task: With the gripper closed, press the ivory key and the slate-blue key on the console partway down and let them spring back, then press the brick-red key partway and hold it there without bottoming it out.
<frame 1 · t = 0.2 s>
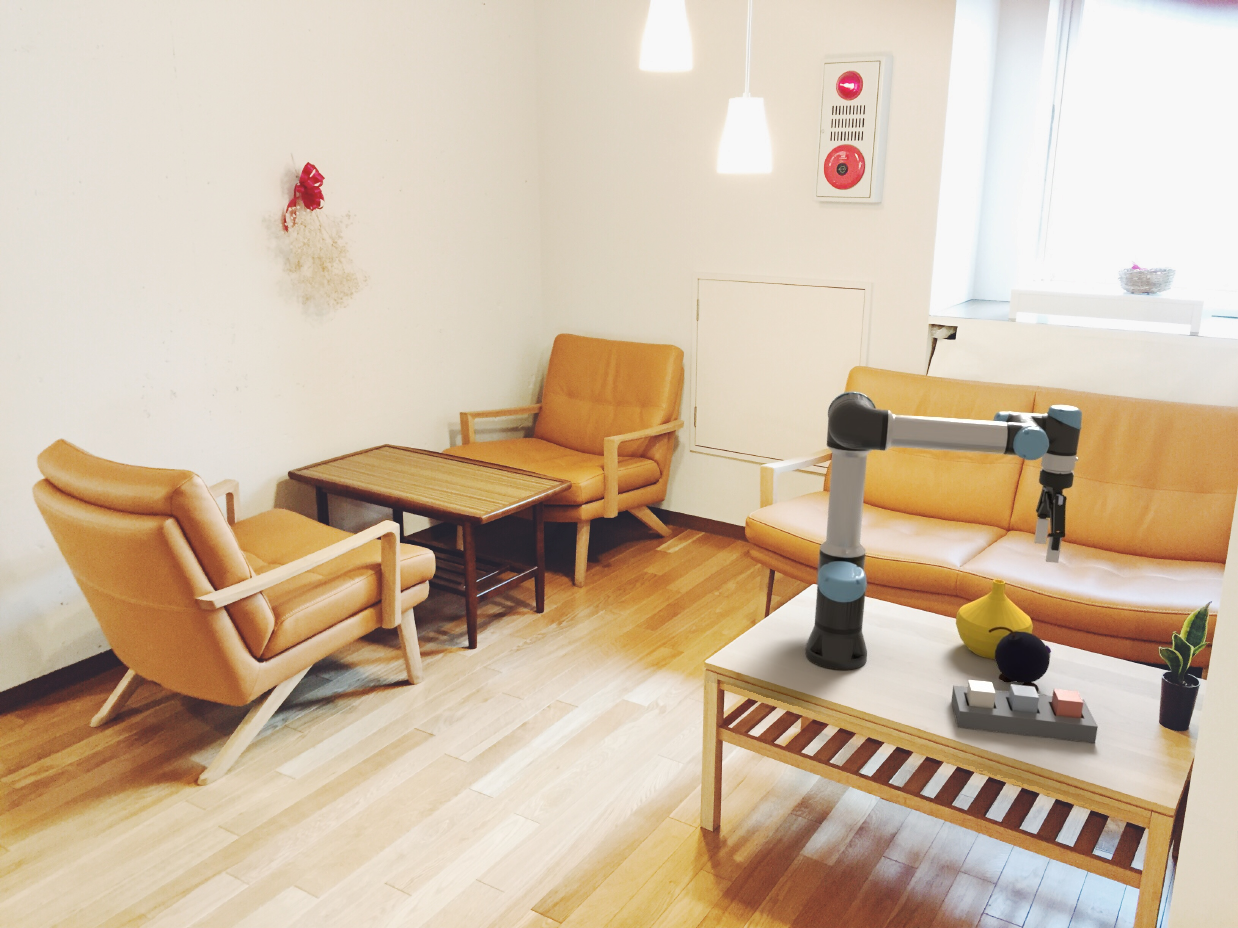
hand: (1045, 552, 242), 28 cm above the table, fingers open, 13 cm apart
vase: (990, 651, 252), on the table
key slate: (1023, 698, 216), point 6 cm above the table, slide at 0.0 cm
key ivory: (980, 694, 218), point 6 cm above the table, slide at 0.0 cm
key brick: (1067, 703, 214), point 6 cm above the table, slide at 0.0 cm
toy: (1015, 685, 234), on the table
console: (1020, 721, 217), on the table
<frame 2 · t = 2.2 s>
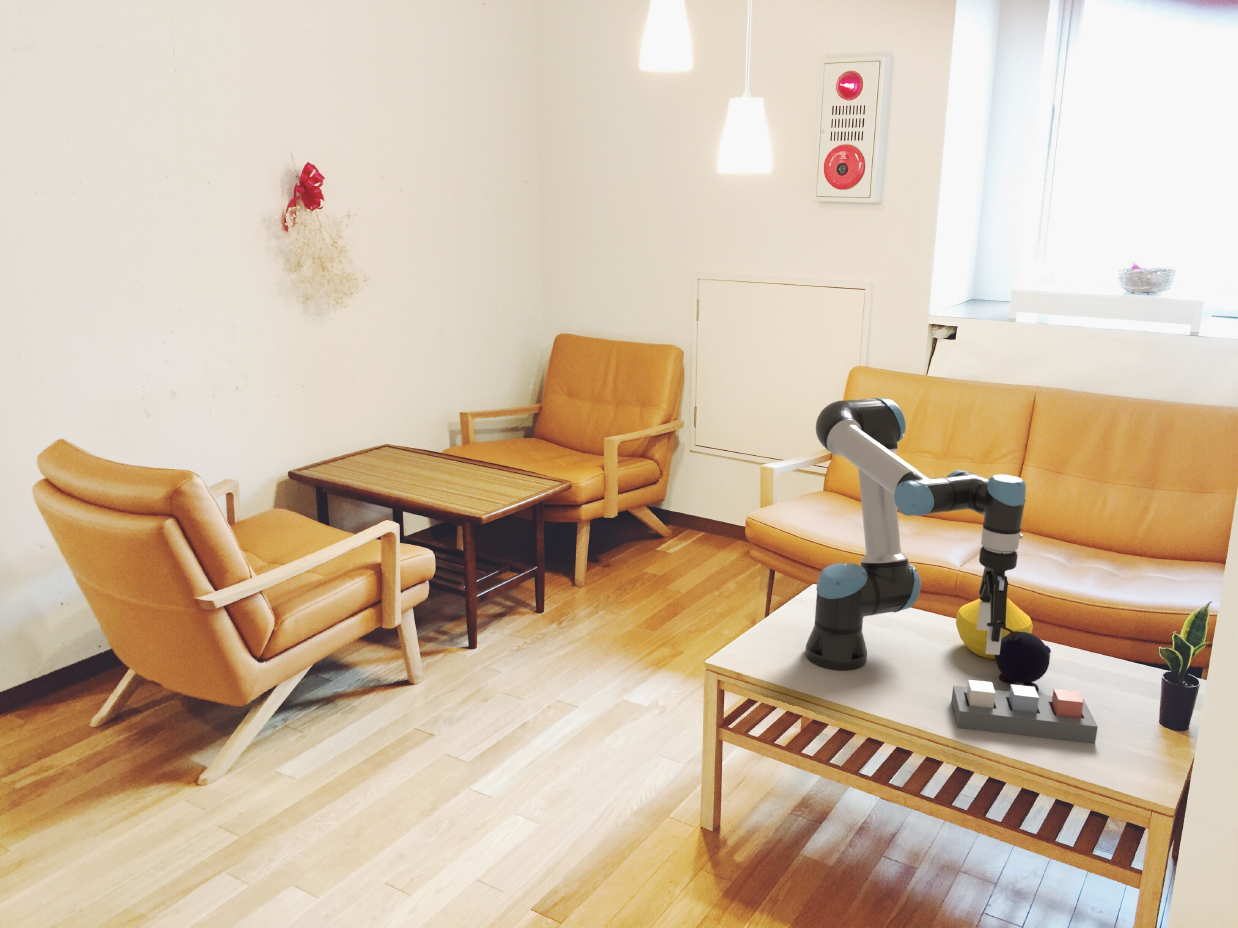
hand: (987, 641, 214), 18 cm above the table, fingers open, 12 cm apart
nothing on the table moved.
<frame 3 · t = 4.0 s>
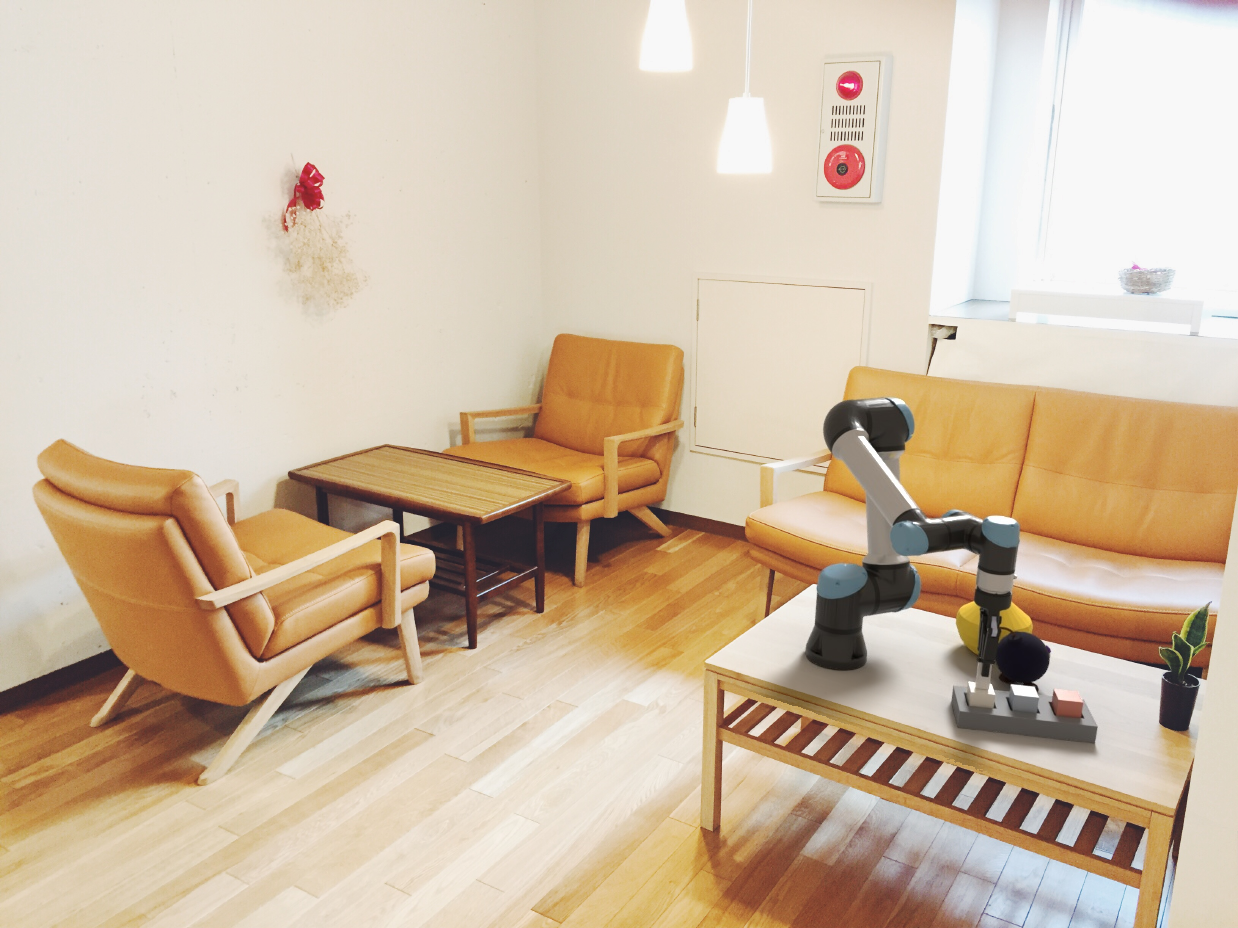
hand: (982, 687, 217), 7 cm above the table, fingers closed
key ivory: (980, 695, 218), point 5 cm above the table, slide at 0.5 cm, touching gripper
everything else where it was.
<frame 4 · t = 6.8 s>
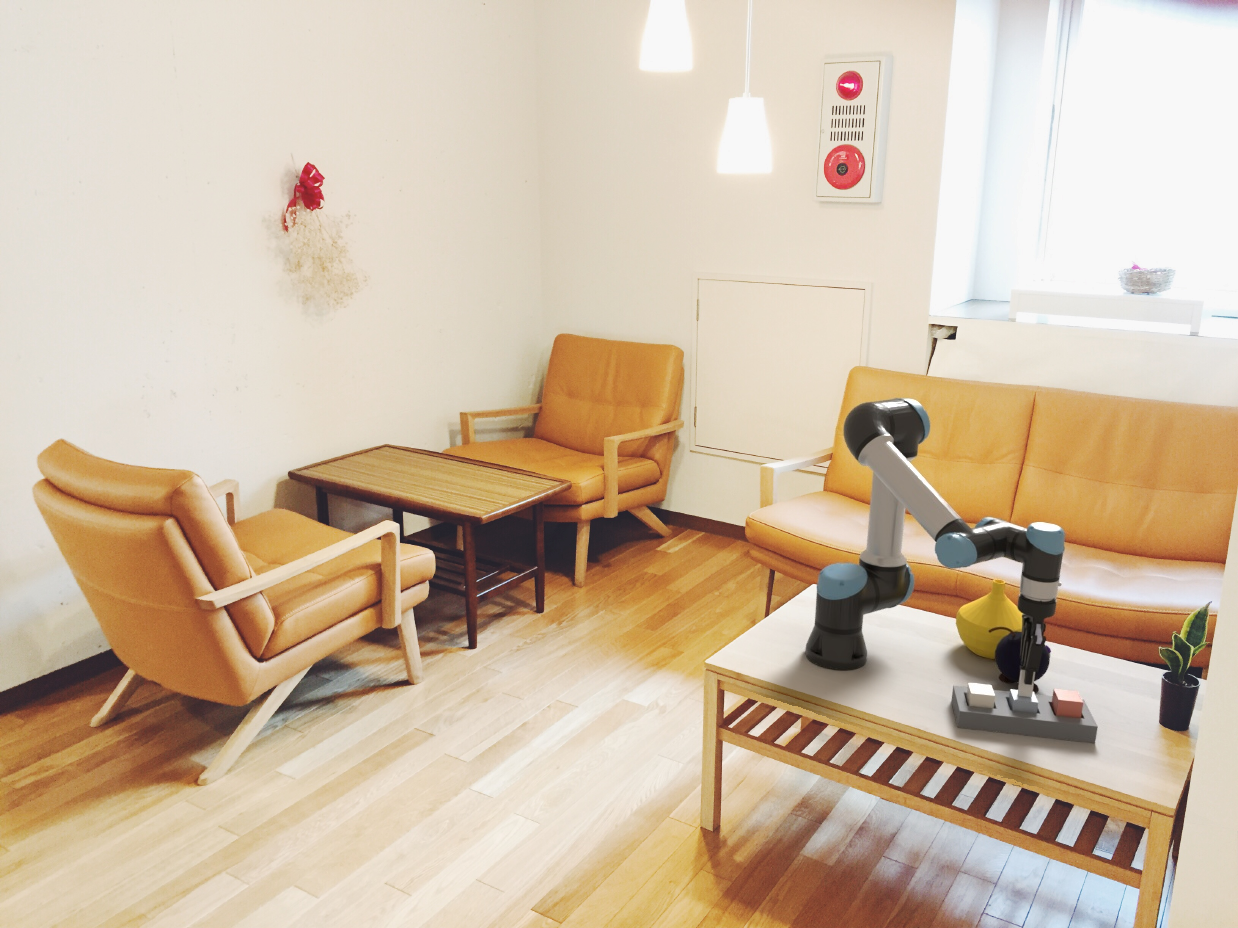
hand: (1024, 694, 215), 7 cm above the table, fingers closed
key slate: (1022, 703, 216), point 4 cm above the table, slide at 1.2 cm, touching gripper
key ivory: (980, 696, 218), point 5 cm above the table, slide at 0.7 cm
everything else where it was.
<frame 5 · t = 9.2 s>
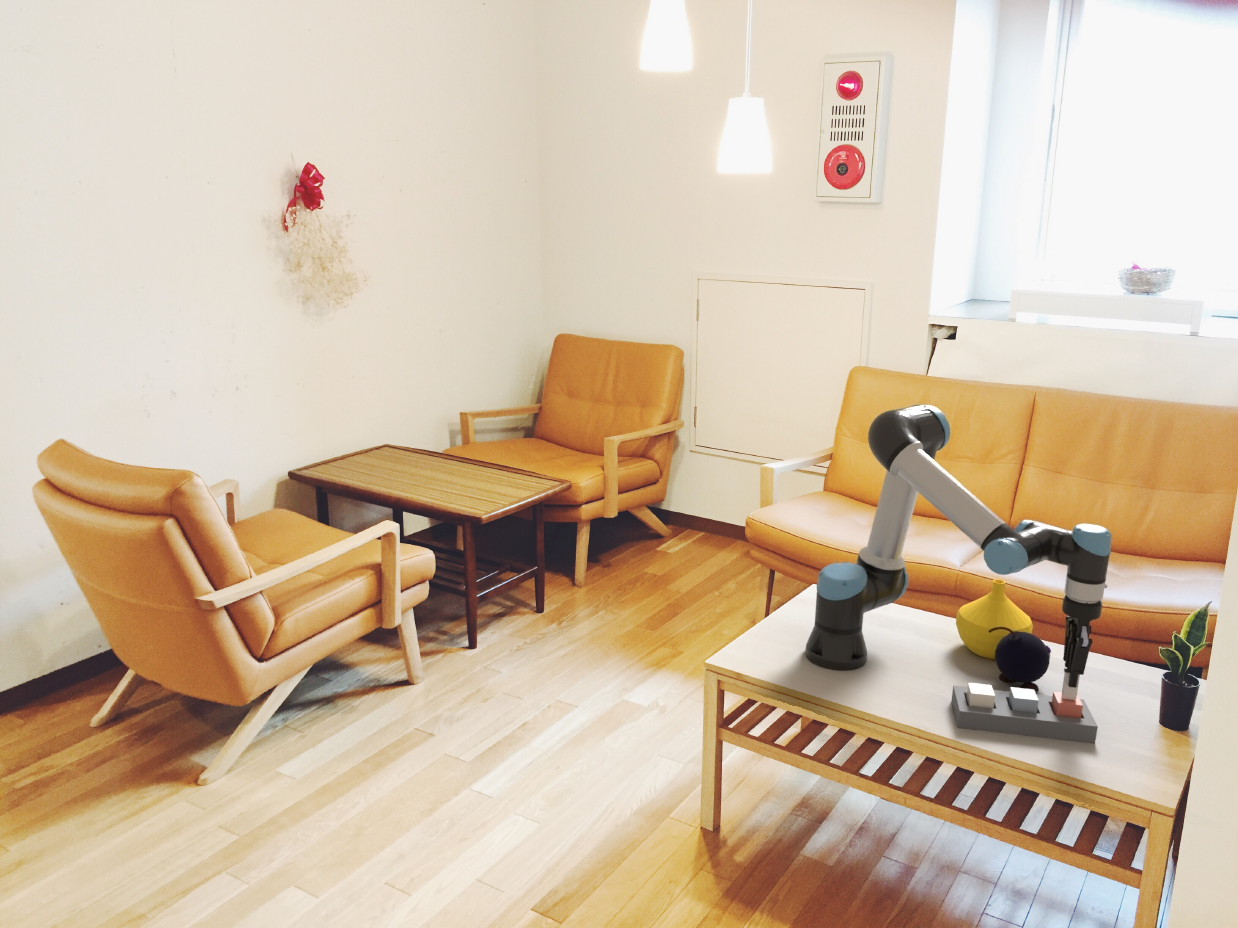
hand: (1068, 697, 214), 7 cm above the table, fingers closed
key slate: (1023, 701, 216), point 5 cm above the table, slide at 0.7 cm
key brick: (1066, 706, 214), point 5 cm above the table, slide at 0.7 cm, touching gripper
everything else where it was.
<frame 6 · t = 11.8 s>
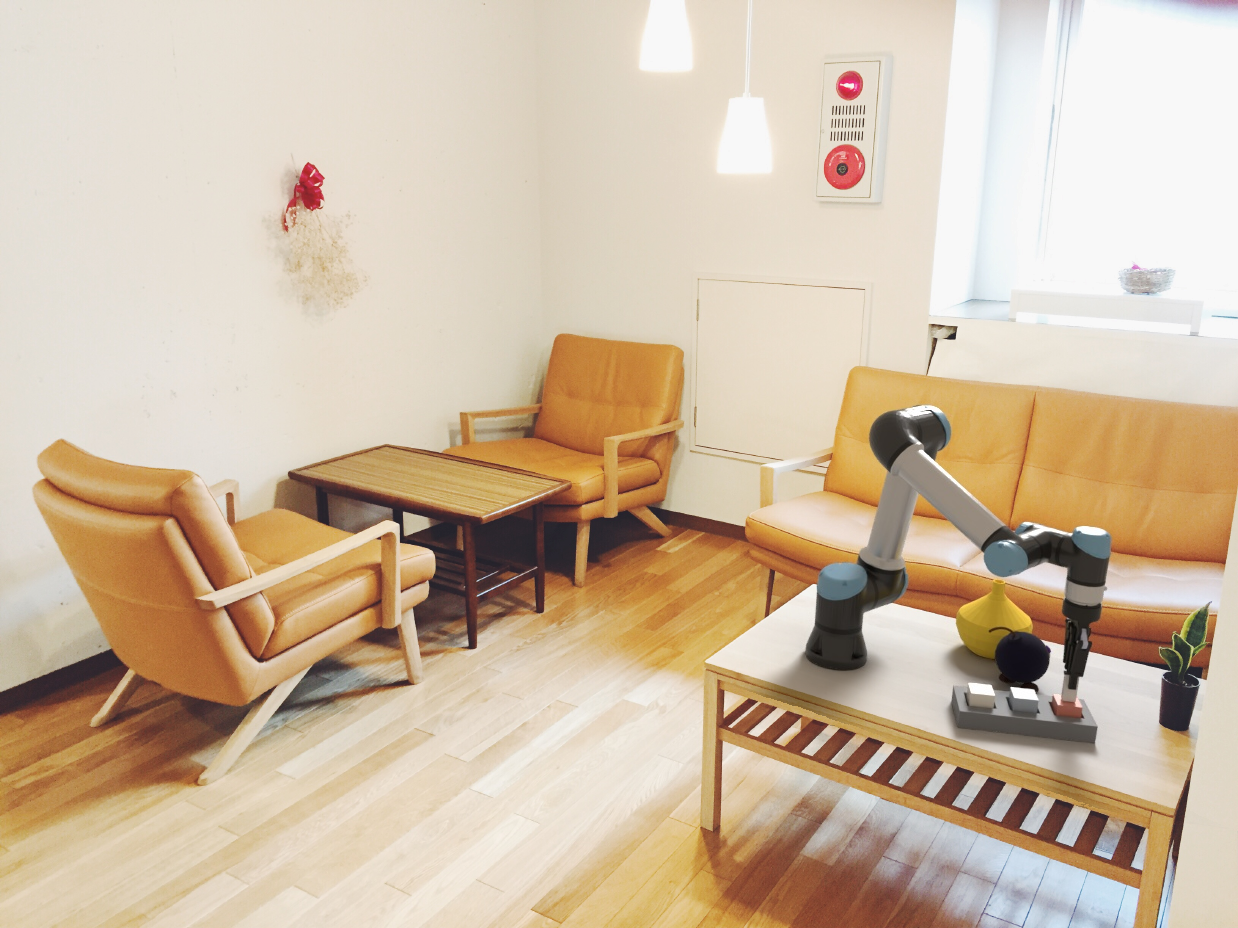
hand: (1068, 699, 214), 7 cm above the table, fingers closed
key brick: (1066, 708, 214), point 4 cm above the table, slide at 1.3 cm, touching gripper
everything else where it was.
at the end: key brick slide at 1.3 cm; key ivory slide at 0.7 cm; key slate slide at 0.7 cm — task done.
